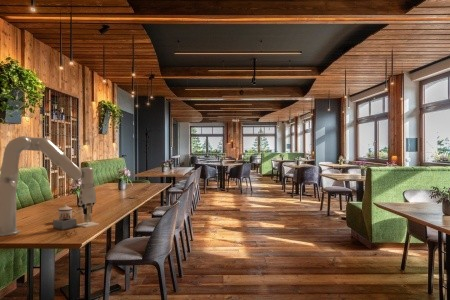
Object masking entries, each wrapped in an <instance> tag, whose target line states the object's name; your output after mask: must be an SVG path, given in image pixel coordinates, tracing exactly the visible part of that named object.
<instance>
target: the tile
mask: <svg viewBox="0 0 450 300" xmlns="http://www.w3.org/2000/svg"><path fill="white" fill-rule="evenodd" d="M99 225H100V223H98V222H93V221H92V222H88V223H87V222H82V223H77V227H81V228H90V227H94V226H99Z"/></svg>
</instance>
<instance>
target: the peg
mask: <svg viewBox="0 0 450 300" xmlns="http://www.w3.org/2000/svg"><path fill="white" fill-rule="evenodd" d="M84 205H85V204H84ZM86 208H87V214H83V220H84V221H83V223H86V222H87V223H88V222H93V221H92V220H93V219H92V213H91V203H88V204H86Z"/></svg>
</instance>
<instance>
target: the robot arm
mask: <svg viewBox="0 0 450 300" xmlns="http://www.w3.org/2000/svg"><path fill="white" fill-rule="evenodd" d="M23 151H36V152H42V154H44V156H46V157H47V158H48V159H49V160H50V161H51V162H52V163H53V164H54V165H56V166H58V168H60V169H61V170H62V171H63V172H64V173H65V174H67V175H68V176H69V178H70V179H72V180H74V181H75V180H77V181H78V180H79V179H81V181H80V183H81V184H80V185H79V187H80V190H79V202H78V206H80V207H81V208H82V214H83V215H84V214H87V208H86V204H88V203H91V214H93V207H94V205H95V204H96V203H97V193H96V189H95V187H94V168H93V167H92V166H91V167H90V166H87V167H79V166H77V165H76V164H75V163H74V162H73V161H72V160H71V159H70V158H69V157H68V156H67V155H66V154H65V153H64V152H63V151H62V150H61V149H60V148H59V147H58V145H56V144H55V143H54V142H52V140H50V139H49V138H47V137H31V136H17V137H15V138H13V139H11V140H10V141H9V142H8V143H7V144H6V146H5V148H4V152H3V155H2V163H1V168H0V237H5V236H12V235H17V234H19V233H20V232H21V231H20V229H17V228H18V227H17V186H18V180H19V172H20V170H19V163H20V156H21V153H22V152H23ZM84 204H85V205H84Z"/></svg>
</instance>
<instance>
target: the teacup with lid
mask: <svg viewBox="0 0 450 300" xmlns="http://www.w3.org/2000/svg"><path fill="white" fill-rule="evenodd" d="M57 210H58V219H62V218H73V219H75V218H76V217H77V216H78V214H77V211H76V210H73V208H72V207H70V206H68V205H67V204H63V206H61V207H59V208H58V209H57ZM73 212H74V213H75V215H74V216H73Z"/></svg>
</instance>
